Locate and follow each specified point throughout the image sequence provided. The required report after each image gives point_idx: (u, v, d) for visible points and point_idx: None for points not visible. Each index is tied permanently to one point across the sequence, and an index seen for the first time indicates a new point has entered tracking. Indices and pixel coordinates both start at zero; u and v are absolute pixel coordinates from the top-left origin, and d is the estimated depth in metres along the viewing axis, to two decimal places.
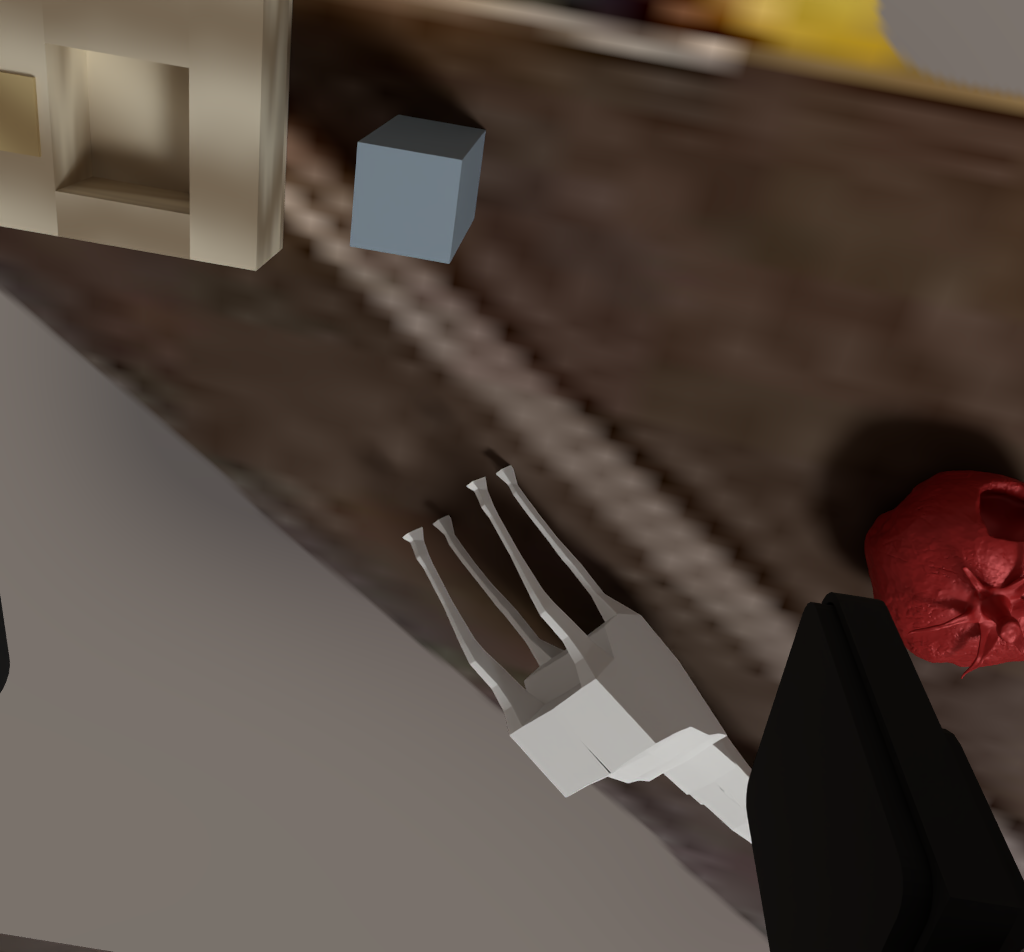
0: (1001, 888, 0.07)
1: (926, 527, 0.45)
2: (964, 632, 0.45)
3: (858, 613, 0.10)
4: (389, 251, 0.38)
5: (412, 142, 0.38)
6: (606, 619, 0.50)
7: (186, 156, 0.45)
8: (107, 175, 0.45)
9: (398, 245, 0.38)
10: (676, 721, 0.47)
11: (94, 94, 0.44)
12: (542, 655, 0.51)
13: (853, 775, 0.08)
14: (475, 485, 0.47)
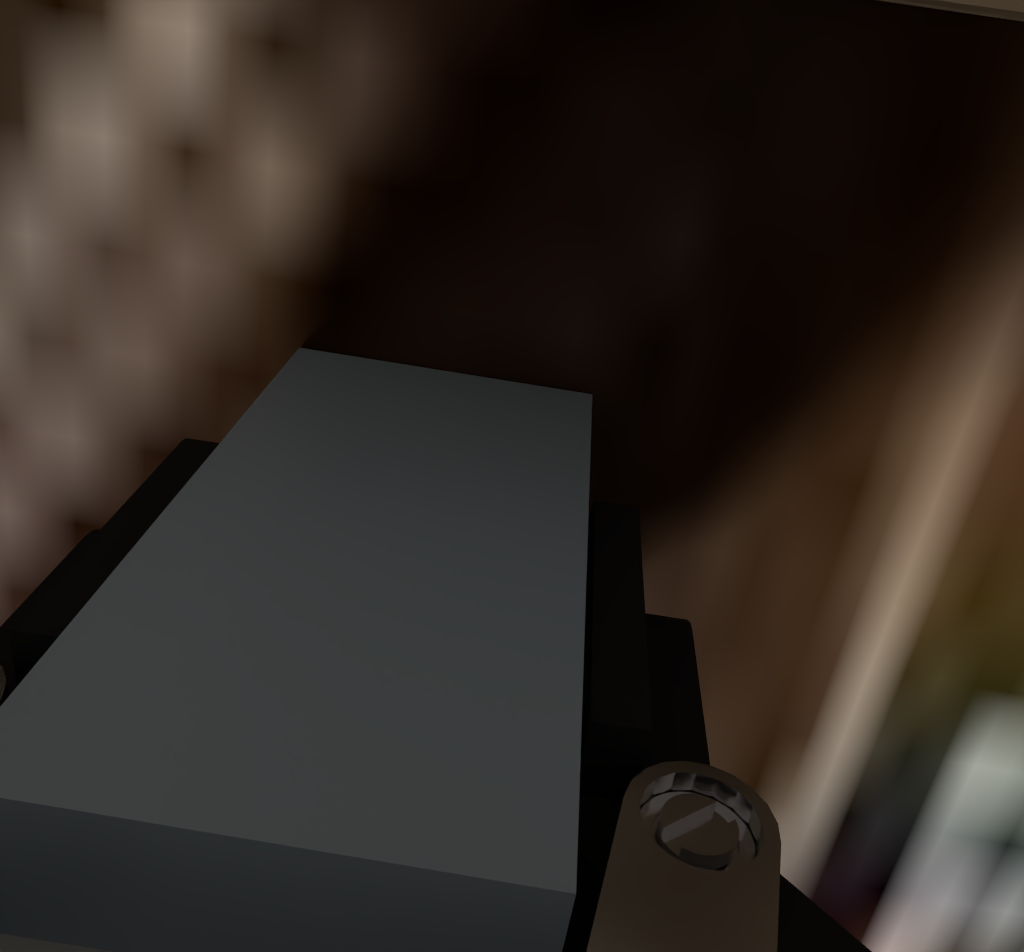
0: (639, 716, 0.08)
1: None
2: None
3: (608, 516, 0.11)
4: None
5: None
6: None
7: None
8: None
9: None
10: None
11: None
12: None
13: None
14: None
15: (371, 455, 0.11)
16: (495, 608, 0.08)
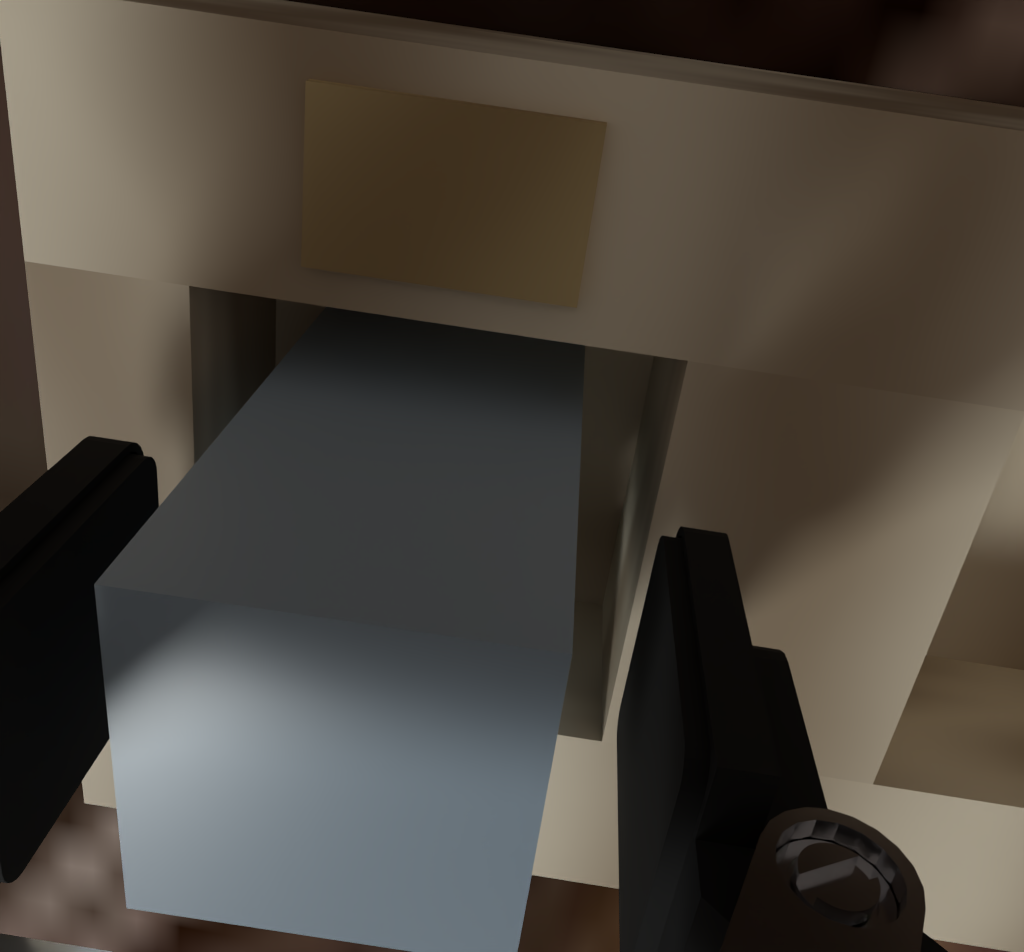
0: (766, 760, 0.08)
1: None
2: None
3: (699, 543, 0.10)
4: (114, 728, 0.09)
5: None
6: None
7: None
8: None
9: (150, 762, 0.09)
10: None
11: None
12: None
13: (669, 678, 0.09)
14: None
15: (400, 378, 0.13)
16: (508, 482, 0.10)
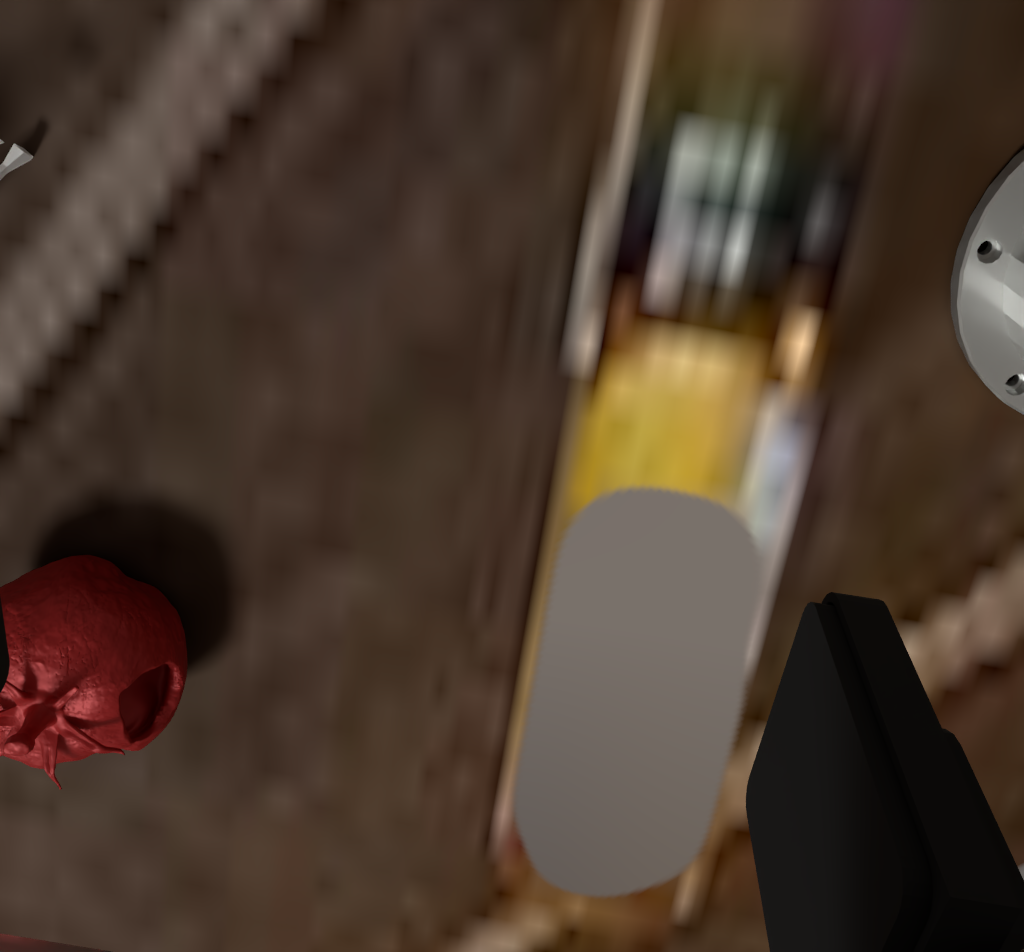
0: (1001, 888, 0.07)
1: (112, 632, 0.41)
2: (0, 694, 0.41)
3: (858, 613, 0.10)
4: None
5: None
6: None
7: None
8: None
9: None
10: None
11: None
12: None
13: (853, 775, 0.08)
14: None
15: None
16: None
